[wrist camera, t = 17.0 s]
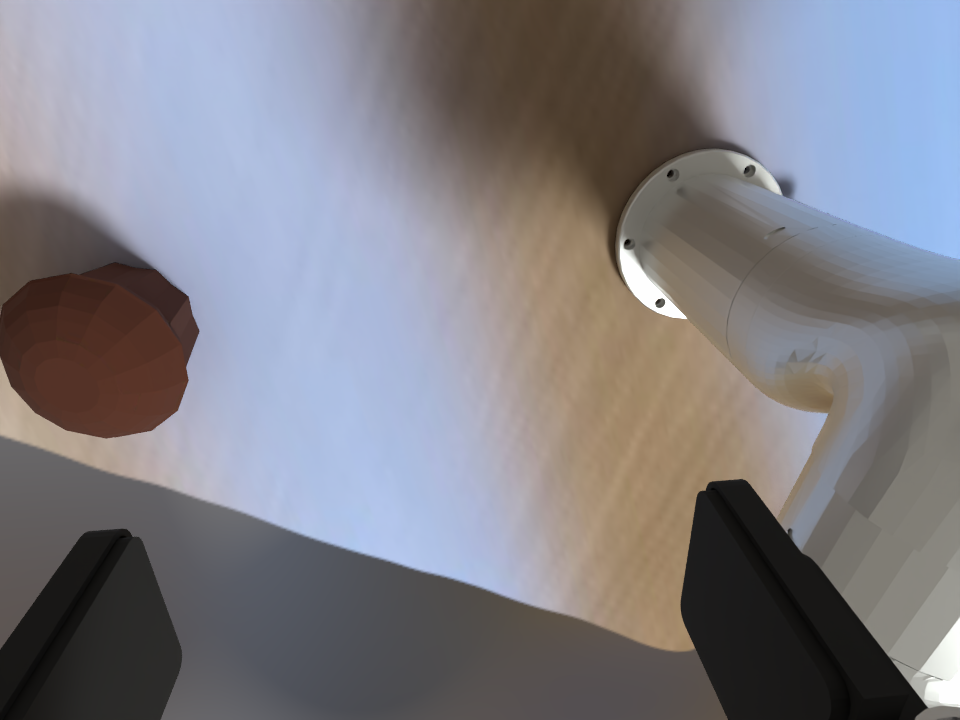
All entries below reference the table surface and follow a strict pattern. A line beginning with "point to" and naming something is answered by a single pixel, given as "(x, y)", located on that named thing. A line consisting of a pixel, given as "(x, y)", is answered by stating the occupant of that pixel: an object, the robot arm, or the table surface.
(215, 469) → the table surface
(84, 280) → the muffin
